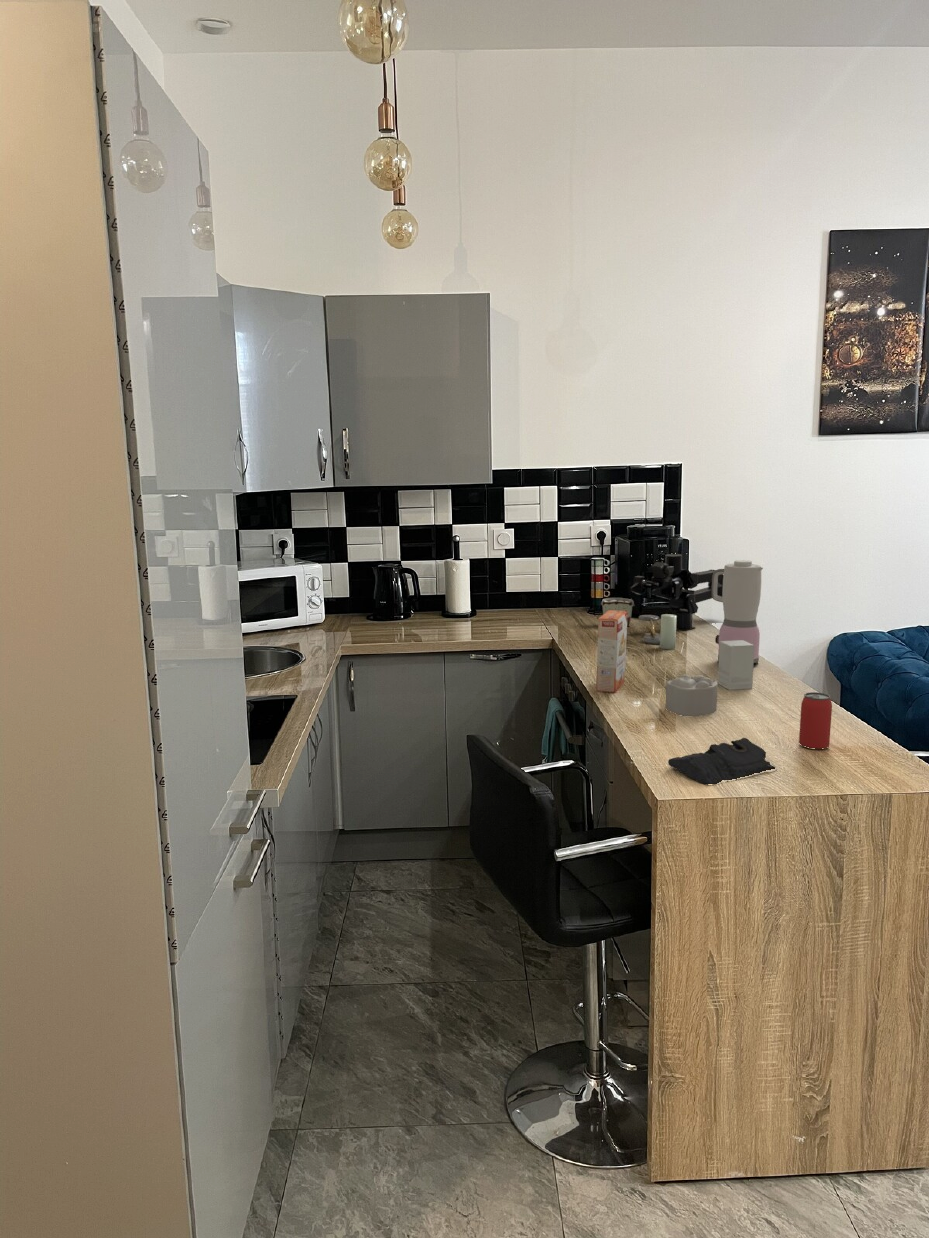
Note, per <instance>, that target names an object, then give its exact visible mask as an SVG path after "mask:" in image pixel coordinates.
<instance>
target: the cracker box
mask: <svg viewBox="0 0 929 1238" xmlns="http://www.w3.org/2000/svg"><path fill="white" fill-rule="evenodd" d="M627 615H628V612H626V611H614V610H609V611H607V612H606V613H605V614H604V615H603V614H602V615H601V616H600V617H598V624H597V625H598V626H597V648H596V649H597V653H596V654H597V655H596V657H597V658H596V676H595V677H596V682H595V691H596V692H601V691H602V693H612V694H616V693H617V691H618V690H619V689H620V687H621V686H622V685H623V684H624V682H625V681H626V680H625V679H626V660H627V659H626V655H627V654H626V653H627V652H626V651H627V635H628V634H627V632H628V631H627V630H628V627H627Z"/></svg>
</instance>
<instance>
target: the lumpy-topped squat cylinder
mask: <svg viewBox="0 0 929 1238" xmlns="http://www.w3.org/2000/svg"><path fill="white" fill-rule="evenodd" d="M665 685H666V687H665V688H666V689H665V708H666V709H667V710H668V712H670V711H671V713H673V712H674V714H675V713H676V714H675V715H676V716H679V715H682V716H681V717H684V716H694V717H701V716H700V715H703V716H708V715H712V714H714V713H716V712H717V708H718V707H717V705H718V687H719V684H718V681H716V680H714V679H712V678H710V677H706V676H705V675H701V674H700V675H695V676H694V677H693V676H690V675H688V674H681V675H680V676H679V677H676V678H673V679H670V680H668V681H666V683H665ZM666 709H665V710H666ZM667 710H666V711H667Z"/></svg>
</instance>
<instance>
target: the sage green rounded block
mask: <svg viewBox="0 0 929 1238" xmlns="http://www.w3.org/2000/svg"><path fill="white" fill-rule="evenodd" d="M676 618H677V616H676V615H675V614H673V613H672V614H670V613H669V614H668V613H665V614H663V613H662V614H661V615H660V634H659V635H660V645H659V648H660V649H662V650H675V649H676V644H677V643H676V642H677V640H676V639H677V638H676V637H677V636H676V635H677V629H676Z"/></svg>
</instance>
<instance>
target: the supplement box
mask: <svg viewBox="0 0 929 1238" xmlns="http://www.w3.org/2000/svg"><path fill="white" fill-rule="evenodd" d="M718 649H719V663H718V673H717V684H718V686H719V685H720V686H721V687H723V688H725V689H727V690H728V691H729V690H730V691H735V690H752V689H753V681H754V664H755V663H754V645H753V644H750V643H748V642H746V641H744V640H734V641H720V647H719V646H718Z"/></svg>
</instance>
